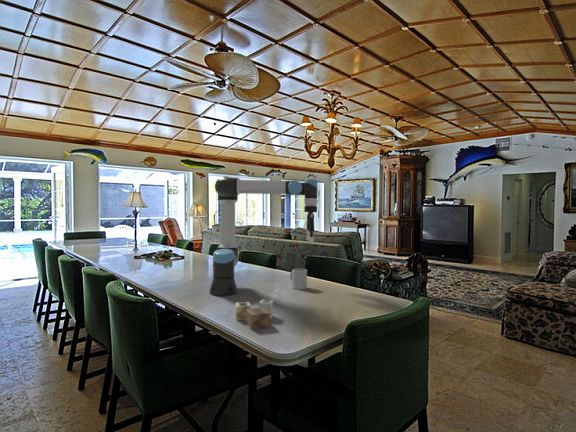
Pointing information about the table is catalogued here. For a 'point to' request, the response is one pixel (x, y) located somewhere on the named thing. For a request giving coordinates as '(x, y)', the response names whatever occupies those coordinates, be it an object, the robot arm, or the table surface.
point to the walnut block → (258, 318)
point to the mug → (299, 278)
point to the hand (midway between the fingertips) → (309, 241)
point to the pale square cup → (267, 306)
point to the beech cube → (242, 310)
